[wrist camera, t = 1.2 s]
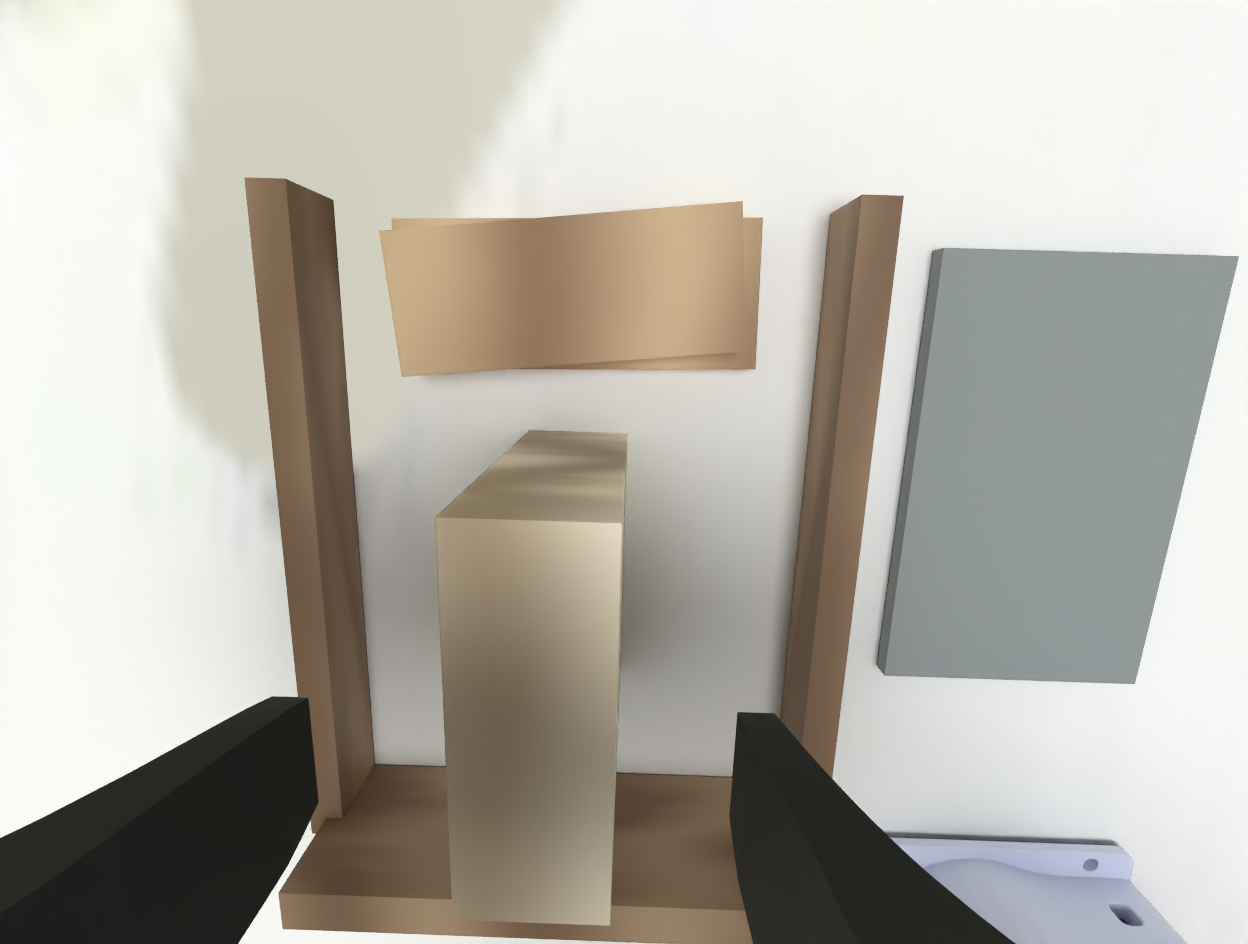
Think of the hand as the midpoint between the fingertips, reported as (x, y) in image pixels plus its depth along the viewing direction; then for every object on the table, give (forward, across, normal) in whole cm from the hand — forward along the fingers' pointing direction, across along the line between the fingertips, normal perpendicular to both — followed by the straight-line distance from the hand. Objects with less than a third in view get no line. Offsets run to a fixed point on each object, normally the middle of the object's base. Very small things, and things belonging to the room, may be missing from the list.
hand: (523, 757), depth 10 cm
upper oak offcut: (+9, 0, -8) cm, 12 cm away
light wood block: (+10, 0, 0) cm, 10 cm away
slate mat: (+9, -14, -3) cm, 17 cm away
